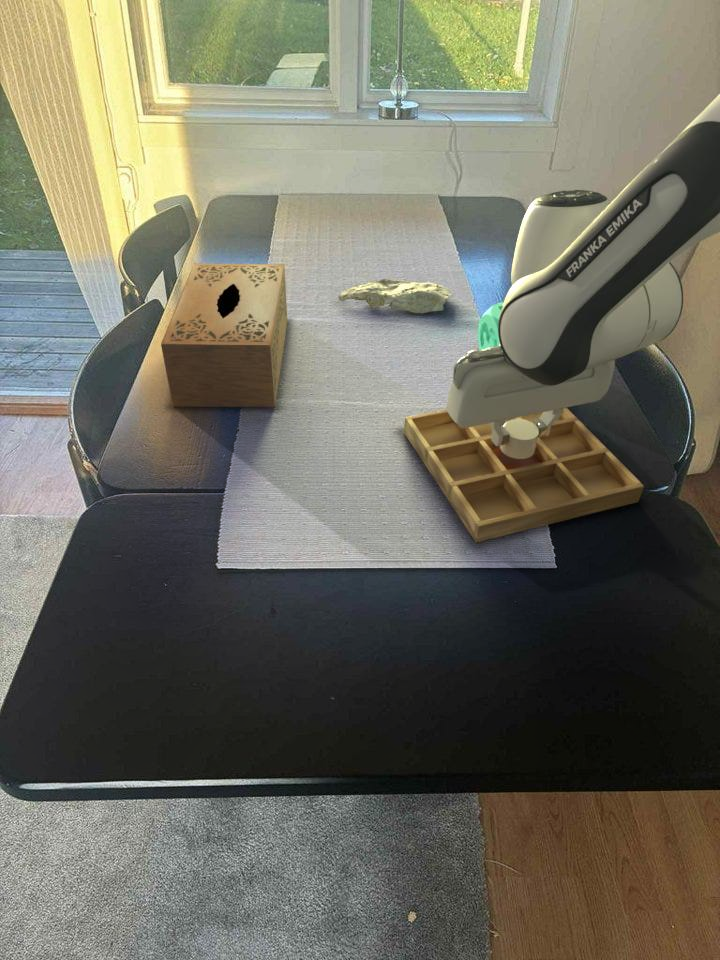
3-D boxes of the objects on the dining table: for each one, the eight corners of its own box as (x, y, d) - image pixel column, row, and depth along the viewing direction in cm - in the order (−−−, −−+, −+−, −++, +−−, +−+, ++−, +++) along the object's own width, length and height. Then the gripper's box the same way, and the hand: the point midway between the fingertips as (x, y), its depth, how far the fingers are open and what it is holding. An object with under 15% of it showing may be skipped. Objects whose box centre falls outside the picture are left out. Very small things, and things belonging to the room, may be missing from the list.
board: (638, 502, 85) (644, 486, 83) (475, 542, 79) (478, 526, 78) (545, 404, 101) (548, 389, 99) (403, 432, 95) (404, 416, 93)
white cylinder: (541, 455, 87) (546, 436, 85) (510, 462, 86) (514, 442, 84) (524, 435, 91) (528, 416, 89) (493, 441, 89) (497, 422, 87)
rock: (339, 302, 124) (339, 289, 122) (355, 278, 132) (355, 265, 131) (443, 316, 120) (445, 302, 119) (453, 290, 129) (455, 277, 127)
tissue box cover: (275, 407, 99) (270, 345, 93) (172, 406, 99) (160, 344, 92) (287, 320, 119) (284, 264, 112) (202, 319, 118) (194, 263, 112)
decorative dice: (519, 343, 114) (527, 297, 109) (542, 368, 108) (552, 321, 103) (474, 349, 112) (480, 303, 107) (495, 375, 107) (503, 328, 101)
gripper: (468, 369, 73) (455, 470, 82) (633, 339, 79) (603, 437, 88) (443, 340, 78) (433, 439, 87) (600, 314, 83) (575, 410, 92)
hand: (519, 438), depth 87 cm, fingers closed on white cylinder, 4 cm apart
